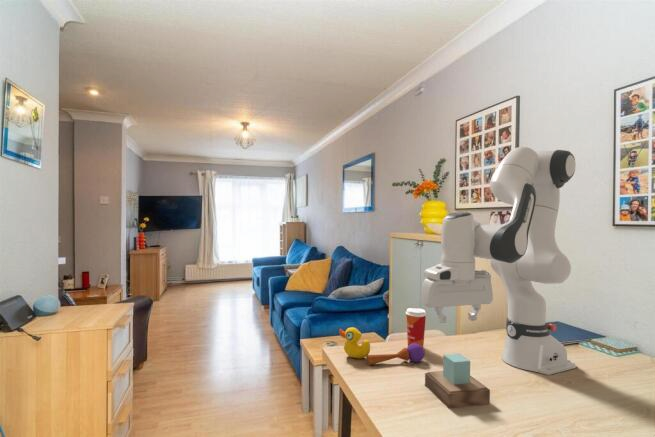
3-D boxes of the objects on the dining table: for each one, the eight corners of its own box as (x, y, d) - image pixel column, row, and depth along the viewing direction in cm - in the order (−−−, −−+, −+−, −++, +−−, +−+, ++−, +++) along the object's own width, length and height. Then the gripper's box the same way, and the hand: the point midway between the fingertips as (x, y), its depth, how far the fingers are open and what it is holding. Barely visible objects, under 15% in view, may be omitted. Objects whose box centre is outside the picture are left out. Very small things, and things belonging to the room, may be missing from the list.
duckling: (335, 356, 116) (336, 327, 116) (342, 351, 121) (342, 323, 121) (366, 363, 111) (367, 333, 111) (372, 357, 116) (372, 328, 116)
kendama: (363, 349, 114) (417, 340, 118) (366, 367, 113) (420, 358, 117) (369, 352, 108) (426, 343, 112) (371, 372, 107) (428, 362, 111)
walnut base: (461, 381, 100) (461, 368, 100) (489, 403, 88) (489, 388, 88) (425, 385, 97) (425, 371, 97) (448, 408, 85) (449, 392, 85)
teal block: (458, 374, 95) (459, 353, 95) (469, 382, 91) (470, 360, 91) (443, 376, 94) (443, 354, 94) (453, 384, 89) (453, 362, 89)
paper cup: (404, 343, 130) (404, 307, 130) (424, 344, 129) (425, 308, 129) (405, 350, 122) (406, 312, 122) (427, 352, 121) (428, 313, 121)
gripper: (482, 268, 98) (482, 315, 98) (418, 270, 93) (418, 320, 93) (498, 271, 92) (498, 322, 92) (430, 274, 87) (430, 327, 87)
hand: (457, 321), depth 93 cm, fingers open, 8 cm apart
